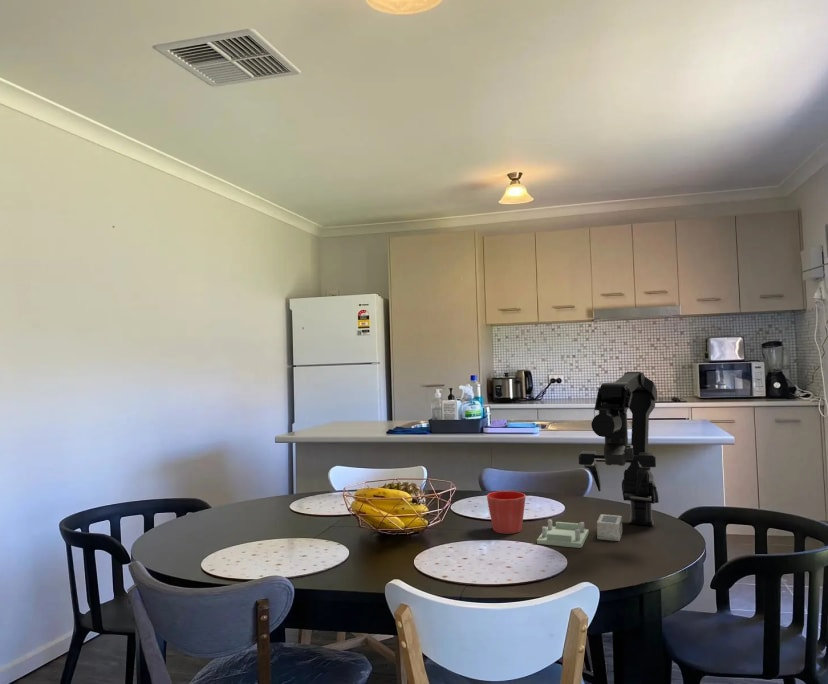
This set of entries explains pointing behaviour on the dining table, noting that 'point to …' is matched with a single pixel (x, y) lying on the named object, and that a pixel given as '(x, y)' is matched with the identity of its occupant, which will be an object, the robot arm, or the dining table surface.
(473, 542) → the dining table surface
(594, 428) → the robot arm
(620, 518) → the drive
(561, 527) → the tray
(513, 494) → the flower pot
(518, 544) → the dining table surface
